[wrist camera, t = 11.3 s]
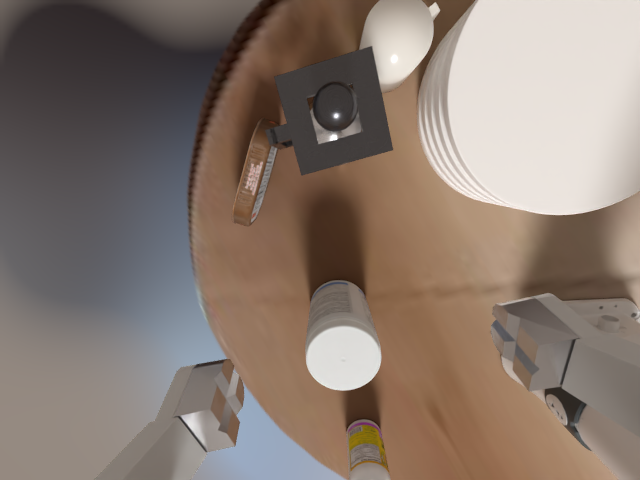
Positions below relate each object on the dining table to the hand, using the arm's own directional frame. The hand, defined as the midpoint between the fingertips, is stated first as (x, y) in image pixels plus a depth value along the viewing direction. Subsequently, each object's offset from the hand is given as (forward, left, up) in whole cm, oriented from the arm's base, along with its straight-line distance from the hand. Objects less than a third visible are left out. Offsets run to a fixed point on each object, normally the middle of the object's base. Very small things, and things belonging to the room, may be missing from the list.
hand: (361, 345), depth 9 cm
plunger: (-2, -10, -31) cm, 33 cm away
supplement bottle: (+6, +44, -37) cm, 58 cm away
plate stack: (-28, -7, -38) cm, 47 cm away
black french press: (-1, -10, -37) cm, 39 cm away
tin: (+10, -7, -38) cm, 39 cm away
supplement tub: (+4, +17, -37) cm, 41 cm away
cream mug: (-11, -17, -37) cm, 43 cm away
